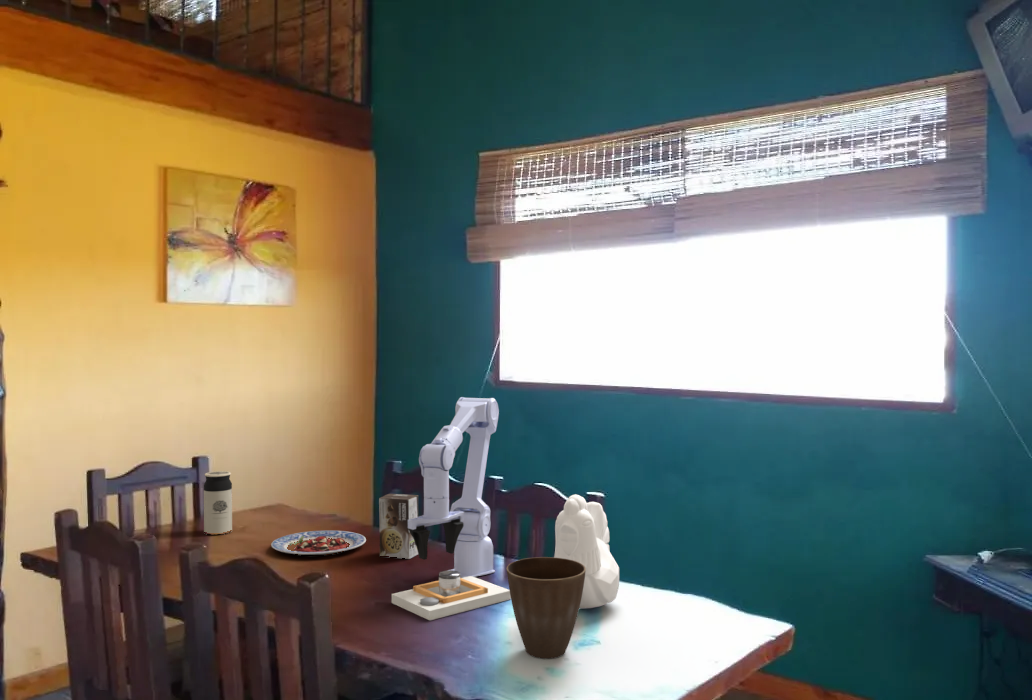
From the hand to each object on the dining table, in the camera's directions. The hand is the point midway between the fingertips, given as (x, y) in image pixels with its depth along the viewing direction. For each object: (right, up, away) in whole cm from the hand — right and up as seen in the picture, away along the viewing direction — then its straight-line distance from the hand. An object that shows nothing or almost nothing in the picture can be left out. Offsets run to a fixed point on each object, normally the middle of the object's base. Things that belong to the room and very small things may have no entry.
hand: (436, 555), depth 193 cm
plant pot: (+24, -10, -35) cm, 43 cm away
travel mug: (-72, -8, +60) cm, 94 cm away
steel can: (+3, -9, -4) cm, 10 cm away
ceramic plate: (-37, -9, +42) cm, 57 cm away
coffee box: (-13, -9, +35) cm, 38 cm away
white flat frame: (+4, -9, -5) cm, 11 cm away
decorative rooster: (+35, -9, -4) cm, 36 cm away
